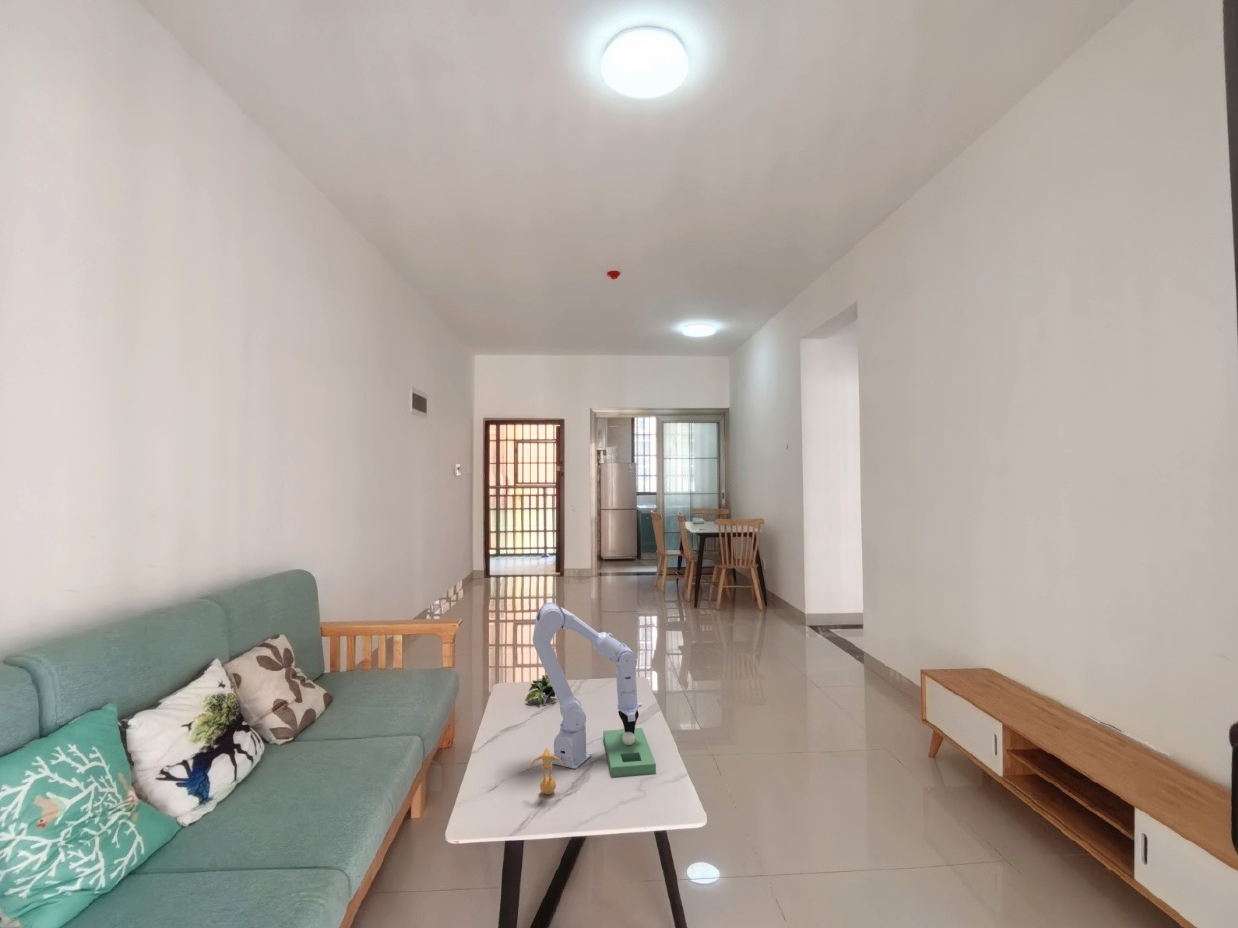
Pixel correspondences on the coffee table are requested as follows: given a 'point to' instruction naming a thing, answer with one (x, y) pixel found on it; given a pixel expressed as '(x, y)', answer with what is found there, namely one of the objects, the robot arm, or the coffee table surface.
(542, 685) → the passion flower
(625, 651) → the robot arm
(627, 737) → the ball
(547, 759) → the figurine
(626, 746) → the putting mat
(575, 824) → the coffee table surface
